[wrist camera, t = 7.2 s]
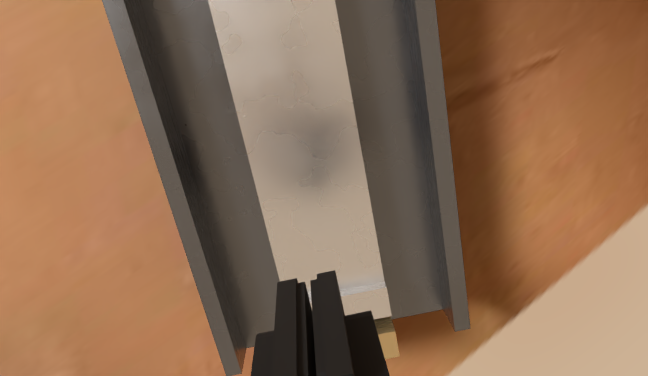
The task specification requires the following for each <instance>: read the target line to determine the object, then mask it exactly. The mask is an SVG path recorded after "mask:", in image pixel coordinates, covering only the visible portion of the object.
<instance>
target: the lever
mask: <svg viewBox="0 0 648 376" xmlns="http://www.w3.org/2000/svg"><path fill="white" fill-rule="evenodd" d="M208 3H209V7H210V11H211V14H212V18H213V22H214V26H215V30H216V34H217V38H218V42H219V46H220V50H221V54H222V57H223V61H224V65H225V69H226V73H227V77H228V81H229V85H230V89H231V93H232V96H233V100H234V104H235V108H236V112H237V116H238V120H239V124H240V128H241V132H242V136H243V139H244V143H245V147H246V151H247V155H248V159H249V163H250V167H251V171H252V175H253V178H254V182H255V186H256V190H257V194H258V198H259V202H260V206H261V210H262V214H263V218H264V221H265V225H266V229H267V233H268V237H269V241H270V245H271V249H272V253H273V257H274V260H275V264H276V268H277V272H278V276H279V280H280V281H285V280H290V279H294V278H297V280H298V283H300V282H305V284H306V288H307V292H308V296H309V300H310V304H311V308H312V300H311V285H310V280H315V279H317V274H319V273H324V272H328V271H333V270H335V272H336V276H337V281H338V285H339V290H340V295H341V299H342V304H343V309H344V313H345V316H346V315H351V314H355V313H360V312H365V311H370V310H371V311H372V315H373V318H374V319H379V318H384V317H389V316H392V314H391V309H390V303H389V297H388V292H387V287H386V284H385V281H384V275H383V270H382V264H381V258H380V253H379V247H378V241H377V236H376V230H375V224H374V219H373V213H372V207H371V202H370V196H369V190H368V185H367V179H366V173H365V168H364V162H363V156H362V151H361V145H360V139H359V134H358V128H357V122H356V117H355V111H354V105H353V100H352V94H351V88H350V83H349V77H348V71H347V66H346V60H345V54H344V49H343V43H342V37H341V32H340V26H339V20H338V15H337V9H336V4H335V0H208Z"/></svg>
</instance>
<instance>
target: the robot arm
mask: <svg viewBox="0 0 648 376" xmlns="http://www.w3.org/2000/svg"><path fill="white" fill-rule="evenodd" d="M310 285H311V300H312V308H311V304H310V300H309V296H308V292H307V288H306V284H305V282H300V283H298V280H297V278H294V279H290V280H285V281H280V282H277V294H276V310H275V325H274V330H273V331H268V332H263V333H258V334H257V335H256V339H255V347H254V355H253V363H252V371H251V376H389V372H388V369H387V365H386V361H385V358H384V354H383V351H382V347H381V343H380V340H379V336H378V333H377V329H376V326H375V322H374V318H373V315H372V311H371V310H370V311H365V312H360V313H355V314H351V315H346V316H345V313H344V309H343V304H342V299H341V295H340V290H339V285H338V281H337V276H336V272H335V270H333V271H328V272H324V273H319V274H317V279H315V280H310Z"/></svg>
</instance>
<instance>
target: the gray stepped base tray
mask: <svg viewBox="0 0 648 376" xmlns="http://www.w3.org/2000/svg"><path fill="white" fill-rule="evenodd" d="M102 2H103V5H104V8H105V11H106V14H107V17H108V20H109V23H110V26H111V29H112V32H113V35H114V38H115V41H116V44H117V47H118V50H119V53H120V56H121V59H122V62H123V65H124V68H125V71H126V74H127V77H128V80H129V83H130V86H131V89H132V92H133V95H134V98H135V101H136V104H137V108H138V111H139V114H140V117H141V120H142V123H143V126H144V129H145V132H146V135H147V138H148V141H149V144H150V147H151V150H152V153H153V156H154V159H155V162H156V165H157V168H158V171H159V174H160V177H161V180H162V183H163V186H164V189H165V192H166V195H167V198H168V201H169V204H170V207H171V210H172V213H173V216H174V219H175V222H176V225H177V228H178V231H179V234H180V237H181V240H182V243H183V247H184V250H185V253H186V256H187V259H188V262H189V265H190V268H191V271H192V274H193V277H194V280H195V283H196V286H197V289H198V292H199V295H200V298H201V301H202V304H203V307H204V310H205V313H206V316H207V319H208V322H209V325H210V328H211V331H212V334H213V337H214V340H215V343H216V346H217V349H218V352H219V355H220V358H221V361H222V364H223V367H224V370H225V373H226V376H232V375H237V374H242V369H243V364H244V358H245V353H246V348H249V347H254V346H255V339H256V335H257V334H258V333H263V332H268V331H273V330H274V325H275V310H276V294H277V282H280V280H279V276H278V272H277V268H276V264H275V260H274V257H273V253H272V249H271V245H270V241H269V237H268V233H267V229H266V225H265V221H264V218H263V214H262V210H261V206H260V202H259V198H258V194H257V190H256V186H255V182H254V178H253V175H252V171H251V167H250V163H249V159H248V155H247V151H246V147H245V143H244V139H243V136H242V132H241V128H240V124H239V120H238V116H237V112H236V108H235V104H234V100H233V96H232V93H231V89H230V85H229V81H228V77H227V73H226V69H225V65H224V61H223V57H222V54H221V50H220V46H219V42H218V38H217V34H216V30H215V26H214V22H213V18H212V14H211V11H210V7H209V3H208V0H102ZM335 4H336V9H337V15H338V20H339V26H340V32H341V37H342V43H343V49H344V54H345V60H346V66H347V71H348V77H349V83H350V88H351V94H352V100H353V105H354V111H355V117H356V122H357V128H358V134H359V139H360V145H361V151H362V156H363V162H364V168H365V173H366V179H367V185H368V190H369V196H370V202H371V207H372V213H373V219H374V224H375V230H376V236H377V241H378V247H379V253H380V258H381V264H382V270H383V275H384V281H385V284H386V287H387V292H388V297H389V303H390V309H391V314H392V316H389V317H384V318H379V319H374V322H375V326H376V329H377V333H378V336H379V340H380V343H381V347H382V351H383V354H384V358H385V359H389V358H394V357H399V356H400V355H399V349H398V344H397V338H396V332H395V329H394V325H393V322H392V319H396V318H401V317H407V316H412V315H417V314H422V313H427V312H432V311H437V310H442V309H443V310H444V312H445V314H446V316H447V318H448V320H449V321H450V323H451V325H452V327H453V329H454V331H455V332H456V331H461V330H466V329H470V320H469V311H468V302H467V292H466V283H465V274H464V264H463V255H462V246H461V236H460V227H459V218H458V209H457V199H456V190H455V181H454V171H453V162H452V153H451V144H450V134H449V125H448V116H447V106H446V97H445V88H444V78H443V69H442V60H441V51H440V41H439V32H438V23H437V13H436V4H435V0H335Z"/></svg>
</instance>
